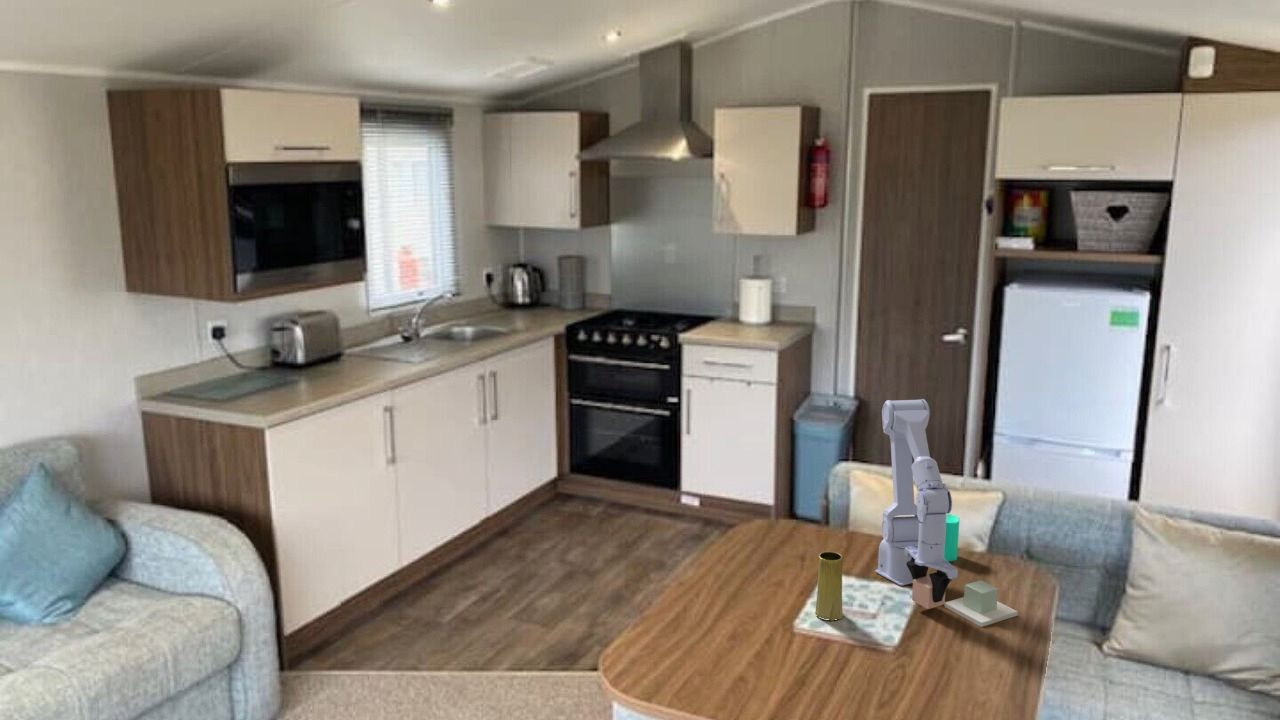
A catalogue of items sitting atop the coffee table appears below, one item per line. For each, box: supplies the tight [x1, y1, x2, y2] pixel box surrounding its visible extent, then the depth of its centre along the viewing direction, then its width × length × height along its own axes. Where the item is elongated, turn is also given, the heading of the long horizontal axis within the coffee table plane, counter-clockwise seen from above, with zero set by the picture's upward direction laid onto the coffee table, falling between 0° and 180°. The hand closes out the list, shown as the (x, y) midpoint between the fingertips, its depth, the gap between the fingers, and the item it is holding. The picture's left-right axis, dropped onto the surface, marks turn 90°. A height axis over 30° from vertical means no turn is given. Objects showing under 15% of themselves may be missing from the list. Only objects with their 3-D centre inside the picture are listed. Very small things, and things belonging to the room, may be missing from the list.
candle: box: [944, 513, 960, 562], centre depth 245 cm, size 6×6×12 cm
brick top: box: [911, 574, 946, 610], centre depth 217 cm, size 5×5×5 cm
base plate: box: [943, 596, 1018, 628], centre depth 217 cm, size 11×11×1 cm
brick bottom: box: [963, 579, 999, 614], centre depth 216 cm, size 5×5×5 cm
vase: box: [814, 550, 844, 620], centre depth 215 cm, size 6×6×14 cm
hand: (928, 596), depth 217 cm, fingers closed on brick top, 5 cm apart
